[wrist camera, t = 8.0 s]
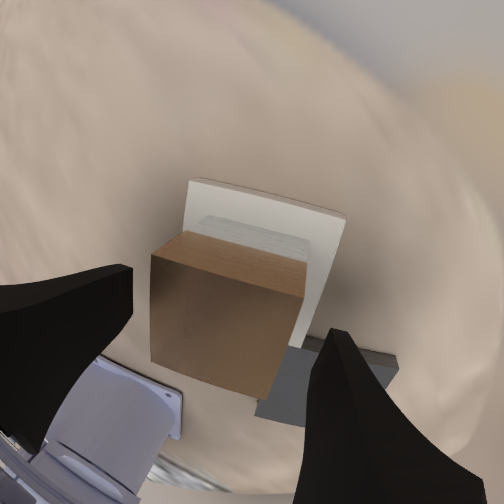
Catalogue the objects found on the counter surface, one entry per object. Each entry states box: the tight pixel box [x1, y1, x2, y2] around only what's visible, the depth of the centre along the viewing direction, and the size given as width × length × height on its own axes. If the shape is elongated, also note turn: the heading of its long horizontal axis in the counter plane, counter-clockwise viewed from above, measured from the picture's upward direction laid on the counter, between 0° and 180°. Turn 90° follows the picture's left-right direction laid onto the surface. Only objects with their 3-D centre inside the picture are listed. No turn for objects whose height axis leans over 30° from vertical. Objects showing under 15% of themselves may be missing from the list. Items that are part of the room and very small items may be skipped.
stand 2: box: [254, 336, 399, 427], centre depth 16 cm, size 7×7×1 cm
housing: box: [150, 215, 309, 400], centre depth 11 cm, size 4×4×5 cm
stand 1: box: [182, 178, 346, 348], centre depth 14 cm, size 7×7×1 cm
